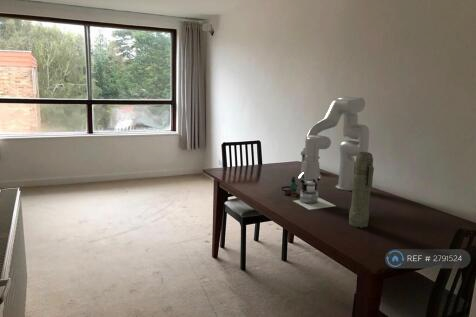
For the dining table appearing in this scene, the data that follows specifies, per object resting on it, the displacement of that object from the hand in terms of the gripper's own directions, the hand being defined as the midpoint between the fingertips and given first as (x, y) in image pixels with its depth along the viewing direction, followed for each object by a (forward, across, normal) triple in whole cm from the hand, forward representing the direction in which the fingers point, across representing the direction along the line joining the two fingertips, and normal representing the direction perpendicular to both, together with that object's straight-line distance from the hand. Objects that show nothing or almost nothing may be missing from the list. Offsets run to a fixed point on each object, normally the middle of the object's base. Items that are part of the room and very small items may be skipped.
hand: (309, 189), depth 202 cm
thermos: (+7, -3, +37) cm, 38 cm away
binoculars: (+7, +3, -16) cm, 18 cm away
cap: (+1, 0, 0) cm, 1 cm away
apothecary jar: (+7, -43, -64) cm, 78 cm away
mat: (+7, -1, +4) cm, 8 cm away
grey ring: (+7, 0, 0) cm, 7 cm away
